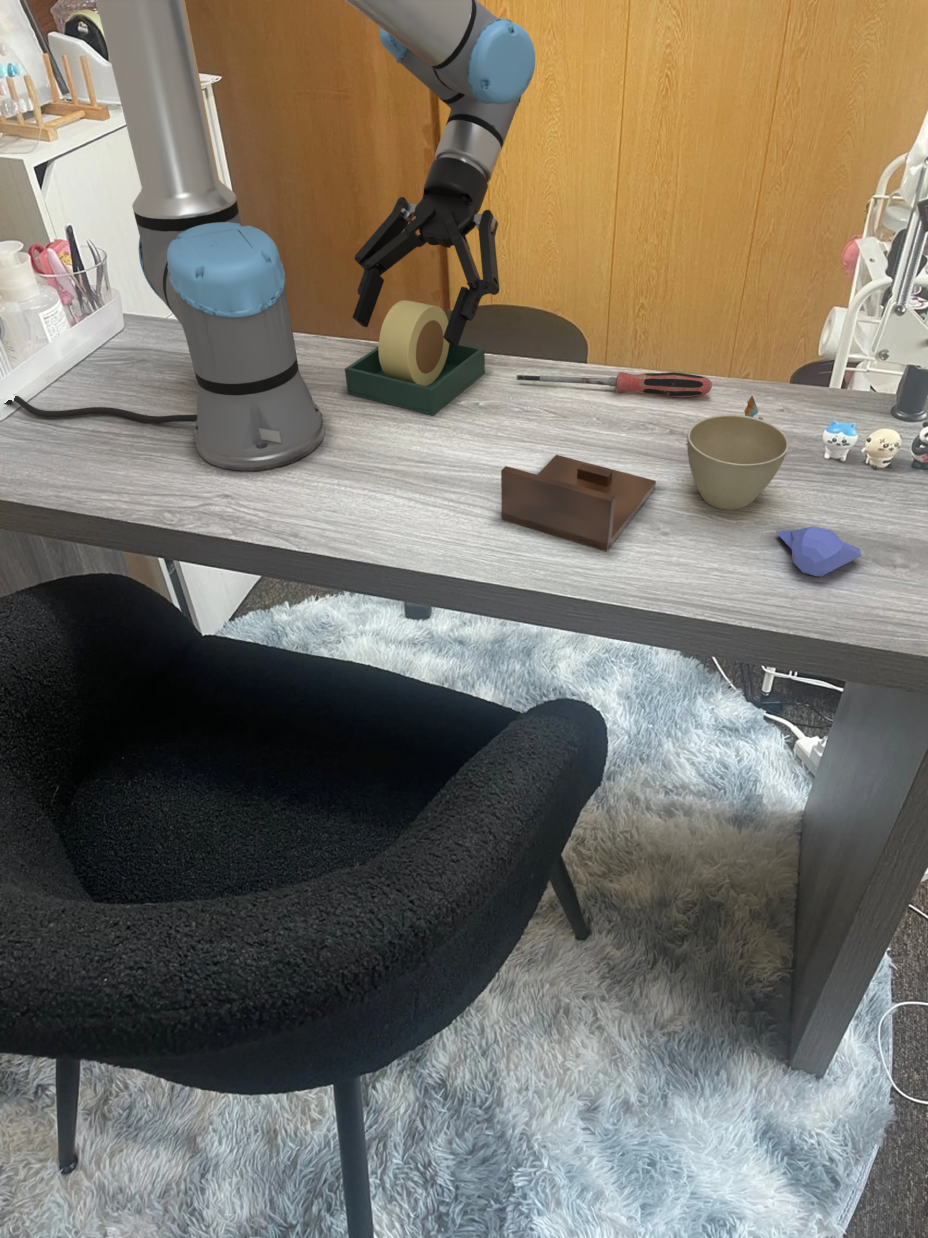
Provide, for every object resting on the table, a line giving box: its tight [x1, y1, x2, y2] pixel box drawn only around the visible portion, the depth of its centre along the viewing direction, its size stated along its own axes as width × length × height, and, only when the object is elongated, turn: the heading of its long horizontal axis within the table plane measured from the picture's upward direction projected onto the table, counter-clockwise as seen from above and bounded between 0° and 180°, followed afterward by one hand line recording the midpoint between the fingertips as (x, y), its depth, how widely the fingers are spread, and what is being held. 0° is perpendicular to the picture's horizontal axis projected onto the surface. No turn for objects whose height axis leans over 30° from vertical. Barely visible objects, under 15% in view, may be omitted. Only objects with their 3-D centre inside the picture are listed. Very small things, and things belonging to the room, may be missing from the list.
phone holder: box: [500, 454, 657, 552], centre depth 93 cm, size 12×13×6 cm
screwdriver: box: [516, 371, 713, 398], centre depth 113 cm, size 25×3×3 cm
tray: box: [344, 342, 486, 417], centre depth 116 cm, size 13×13×4 cm
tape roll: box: [377, 299, 449, 386], centre depth 114 cm, size 5×10×10 cm, turn 150°
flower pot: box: [686, 413, 790, 511], centre depth 92 cm, size 10×10×7 cm
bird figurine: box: [776, 526, 862, 577], centre depth 85 cm, size 8×6×6 cm
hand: (403, 332), depth 111 cm, fingers open, 13 cm apart
